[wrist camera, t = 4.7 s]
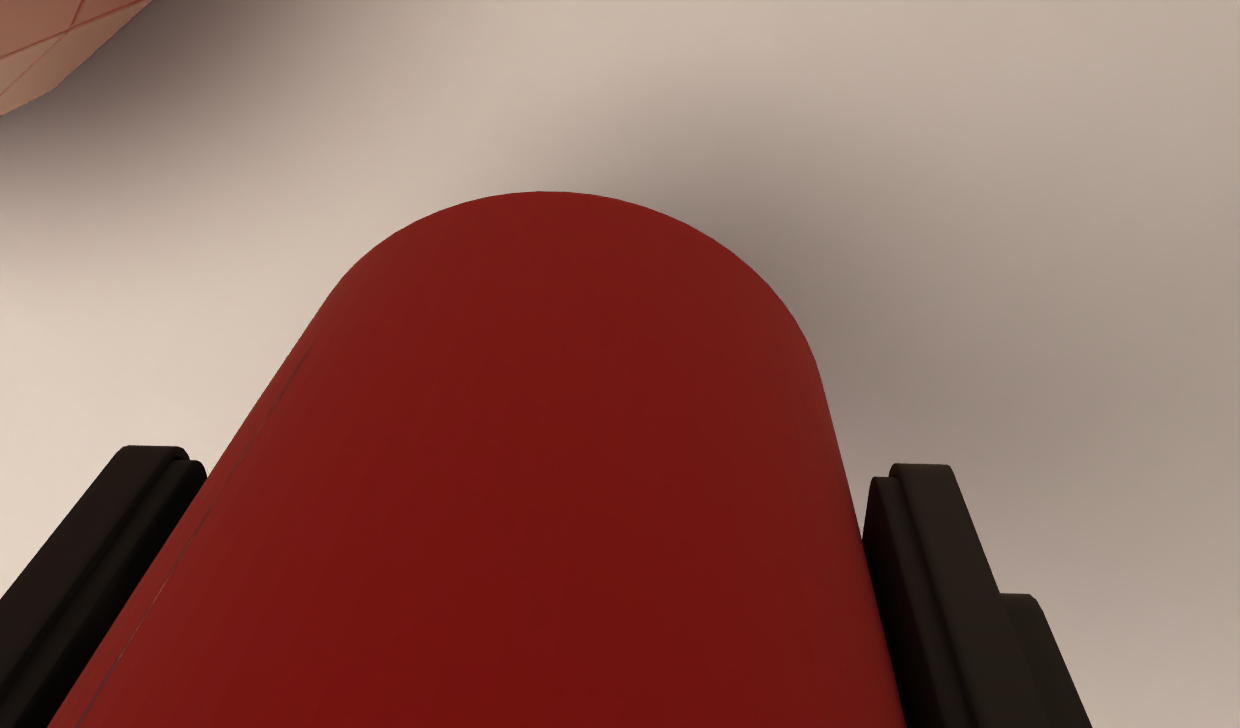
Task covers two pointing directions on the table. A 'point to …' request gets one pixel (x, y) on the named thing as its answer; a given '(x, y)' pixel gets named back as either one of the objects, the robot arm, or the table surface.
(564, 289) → the beverage can
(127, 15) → the bowl
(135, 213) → the table surface
